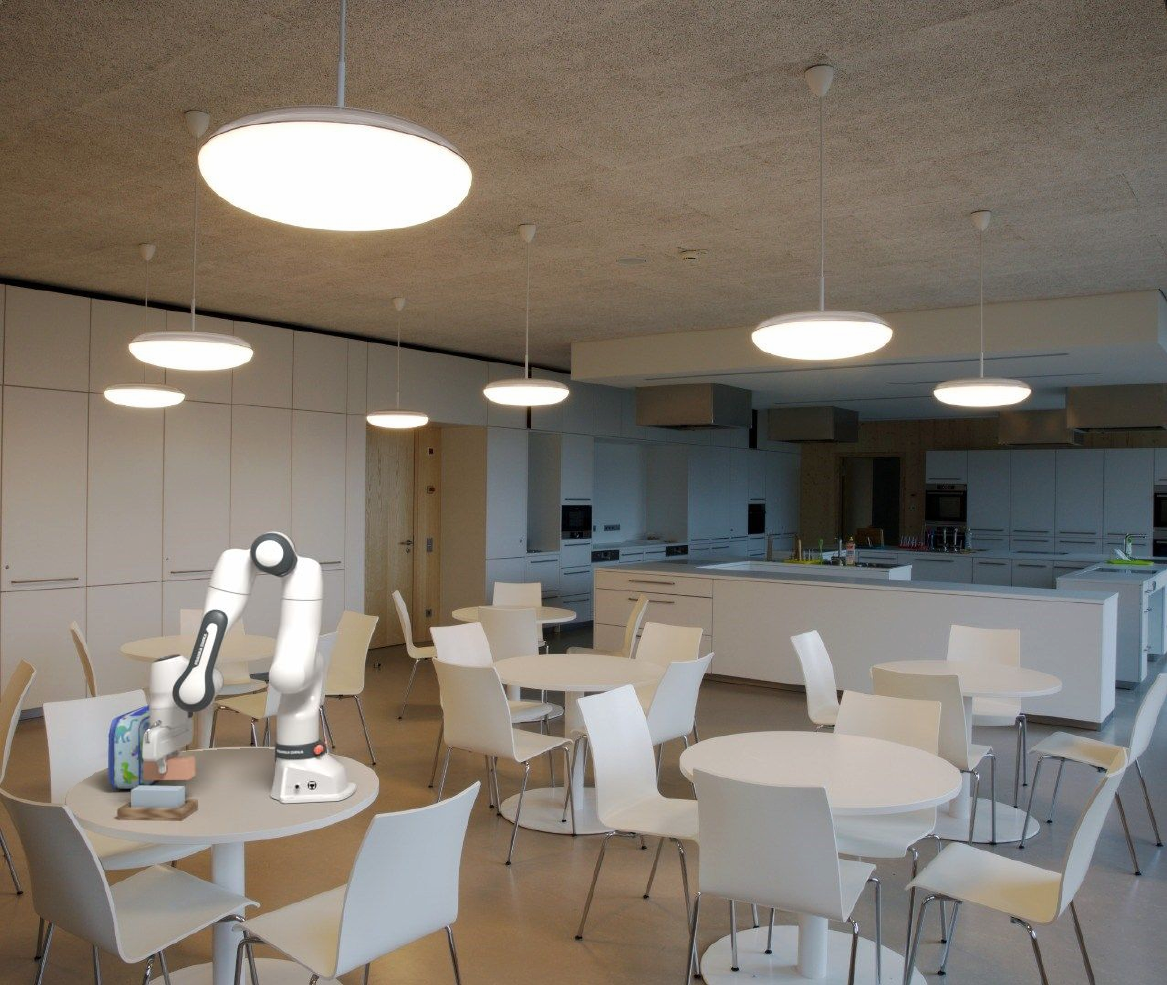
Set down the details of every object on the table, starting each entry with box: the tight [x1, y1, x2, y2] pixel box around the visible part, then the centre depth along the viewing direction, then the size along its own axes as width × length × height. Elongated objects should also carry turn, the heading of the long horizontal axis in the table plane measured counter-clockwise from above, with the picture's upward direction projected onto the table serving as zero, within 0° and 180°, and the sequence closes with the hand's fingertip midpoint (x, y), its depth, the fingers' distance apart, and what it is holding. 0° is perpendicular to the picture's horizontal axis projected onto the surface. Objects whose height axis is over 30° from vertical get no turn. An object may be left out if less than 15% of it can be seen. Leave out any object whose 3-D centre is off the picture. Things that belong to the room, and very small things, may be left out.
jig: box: [116, 798, 199, 821], centre depth 235 cm, size 16×8×3 cm, turn 87°
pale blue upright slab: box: [130, 785, 186, 808], centre depth 236 cm, size 12×4×6 cm, turn 85°
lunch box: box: [107, 703, 172, 790], centre depth 266 cm, size 26×11×21 cm, turn 3°
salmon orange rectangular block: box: [143, 756, 196, 781], centre depth 246 cm, size 12×4×5 cm, turn 87°
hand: (168, 769), depth 246 cm, fingers closed on salmon orange rectangular block, 4 cm apart
